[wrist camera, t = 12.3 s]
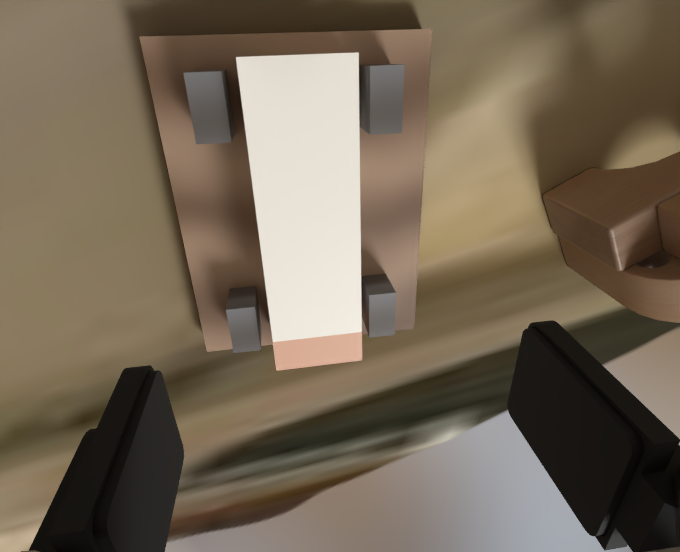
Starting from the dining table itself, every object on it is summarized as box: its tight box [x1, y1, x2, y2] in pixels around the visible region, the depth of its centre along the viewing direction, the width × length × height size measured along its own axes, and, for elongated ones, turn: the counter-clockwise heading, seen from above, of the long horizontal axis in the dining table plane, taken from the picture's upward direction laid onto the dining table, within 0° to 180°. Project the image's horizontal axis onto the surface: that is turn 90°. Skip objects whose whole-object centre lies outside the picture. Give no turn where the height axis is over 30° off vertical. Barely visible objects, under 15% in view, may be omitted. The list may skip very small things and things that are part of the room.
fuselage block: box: [236, 52, 362, 371], centre depth 23 cm, size 16×5×4 cm, turn 2°
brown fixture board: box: [139, 29, 432, 353], centre depth 24 cm, size 18×14×4 cm
